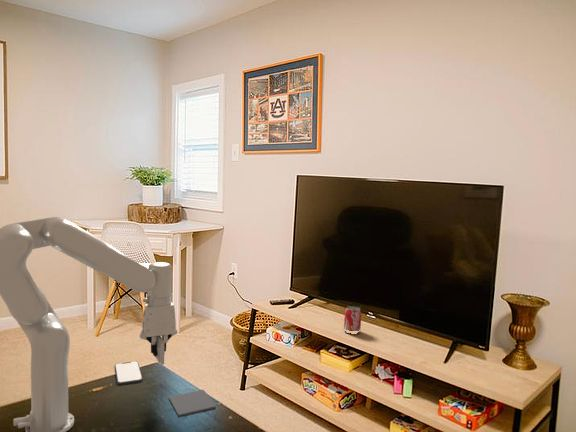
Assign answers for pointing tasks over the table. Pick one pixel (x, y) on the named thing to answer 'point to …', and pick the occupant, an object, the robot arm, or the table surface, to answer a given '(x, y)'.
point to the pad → (191, 402)
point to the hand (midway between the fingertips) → (158, 353)
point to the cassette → (160, 349)
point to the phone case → (128, 373)
